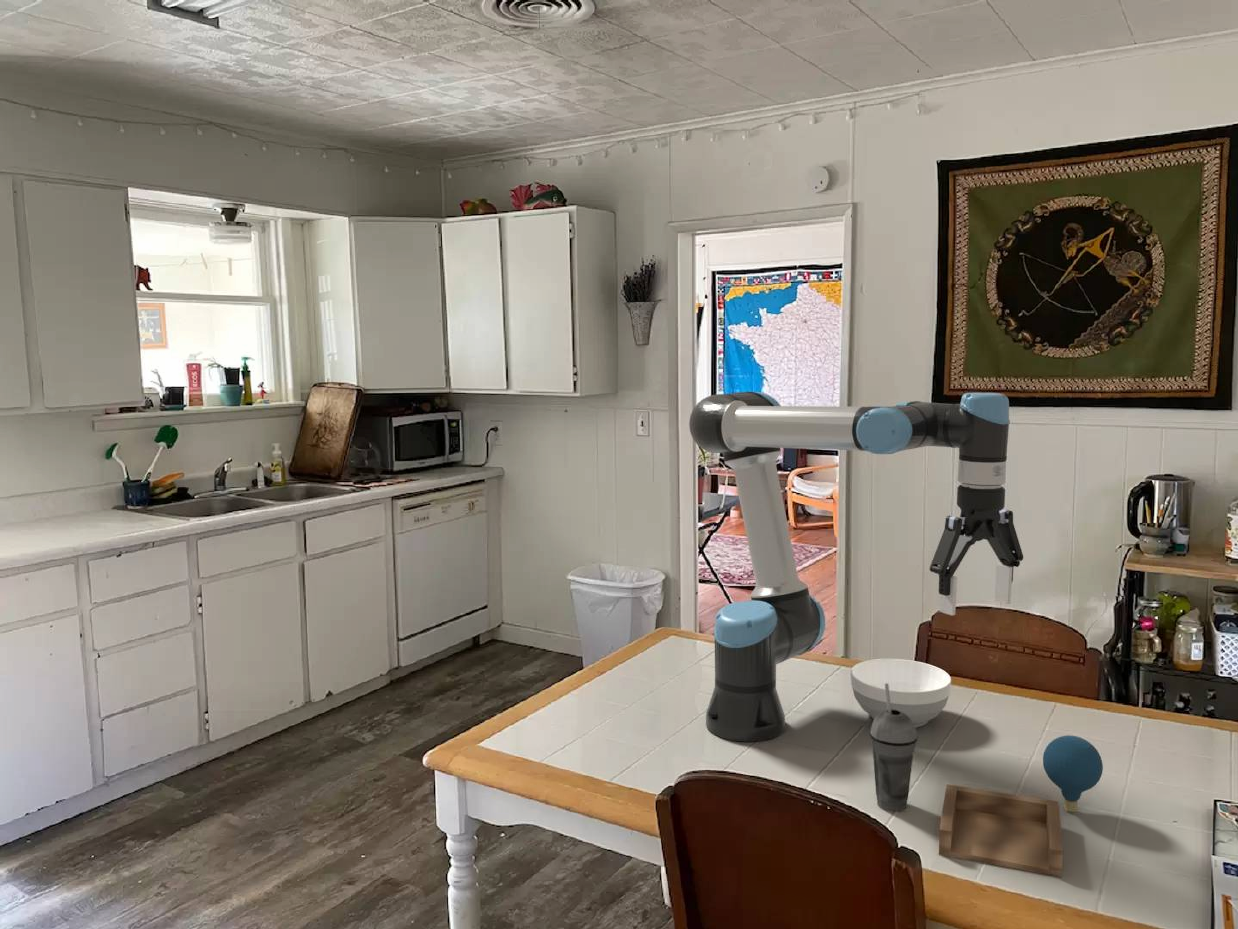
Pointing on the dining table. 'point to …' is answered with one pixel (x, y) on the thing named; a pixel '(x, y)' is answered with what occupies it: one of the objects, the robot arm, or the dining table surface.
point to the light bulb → (1072, 767)
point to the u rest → (1001, 830)
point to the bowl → (901, 688)
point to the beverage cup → (892, 756)
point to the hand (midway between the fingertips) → (975, 607)
